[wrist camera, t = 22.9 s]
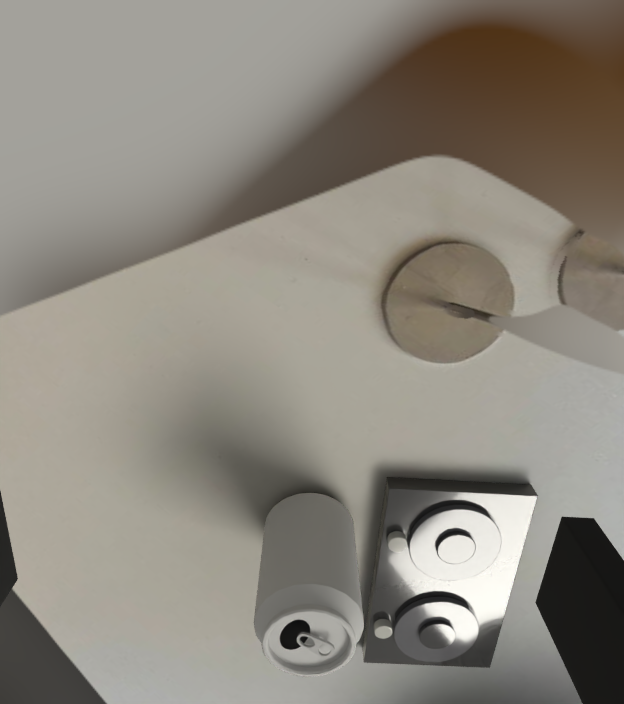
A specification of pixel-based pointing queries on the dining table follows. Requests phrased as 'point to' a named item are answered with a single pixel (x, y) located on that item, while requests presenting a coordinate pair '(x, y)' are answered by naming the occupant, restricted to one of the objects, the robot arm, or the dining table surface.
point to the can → (309, 586)
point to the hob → (444, 570)
